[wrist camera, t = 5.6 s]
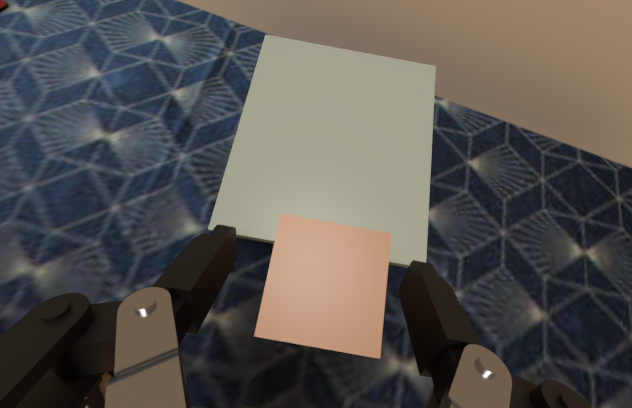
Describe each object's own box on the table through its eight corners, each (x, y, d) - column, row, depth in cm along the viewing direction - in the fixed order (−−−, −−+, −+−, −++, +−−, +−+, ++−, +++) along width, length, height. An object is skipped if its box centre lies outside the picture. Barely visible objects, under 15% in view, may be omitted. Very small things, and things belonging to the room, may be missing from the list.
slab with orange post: (408, 314, 16) (601, 398, 6) (206, 278, 16) (29, 296, 6) (423, 84, 21) (540, -95, 11) (268, 56, 21) (235, -153, 11)
